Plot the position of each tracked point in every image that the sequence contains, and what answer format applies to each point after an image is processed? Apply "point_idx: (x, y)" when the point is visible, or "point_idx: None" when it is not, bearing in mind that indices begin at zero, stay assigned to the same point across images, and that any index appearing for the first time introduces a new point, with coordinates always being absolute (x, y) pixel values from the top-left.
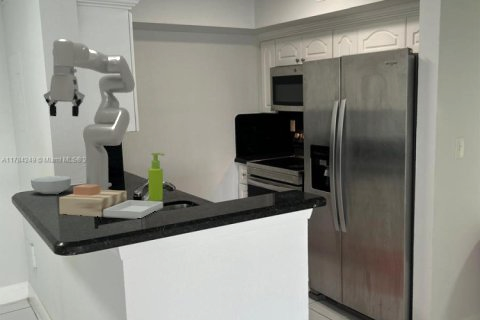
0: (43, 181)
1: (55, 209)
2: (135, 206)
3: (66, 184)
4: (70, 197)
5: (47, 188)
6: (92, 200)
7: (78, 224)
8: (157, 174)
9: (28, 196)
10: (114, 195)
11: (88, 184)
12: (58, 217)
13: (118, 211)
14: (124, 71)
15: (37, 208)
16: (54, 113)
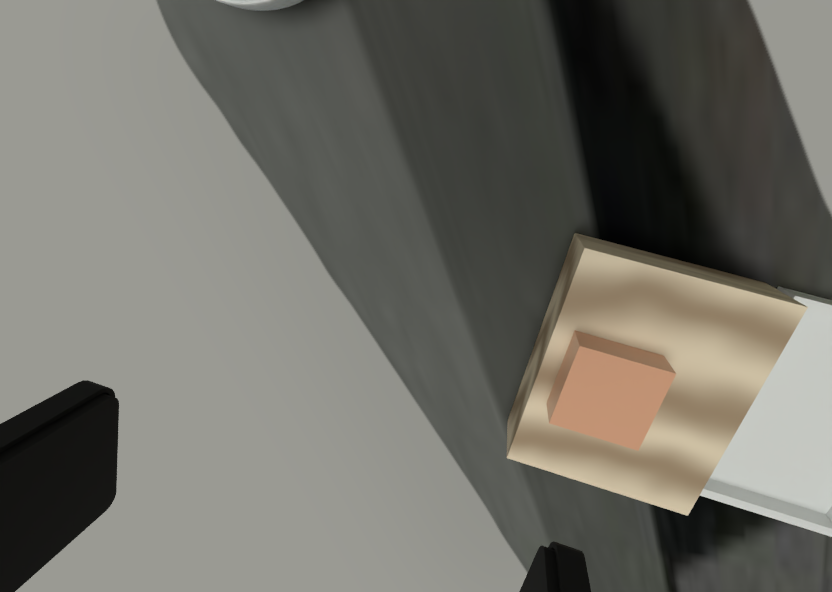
0: (249, 4)
1: (463, 338)
2: (814, 320)
3: None
4: (551, 459)
5: (287, 6)
6: (650, 500)
7: (609, 554)
8: None
9: (218, 25)
10: (741, 419)
11: (607, 355)
12: (519, 463)
13: (746, 508)
14: None
15: (390, 317)
16: (79, 468)
